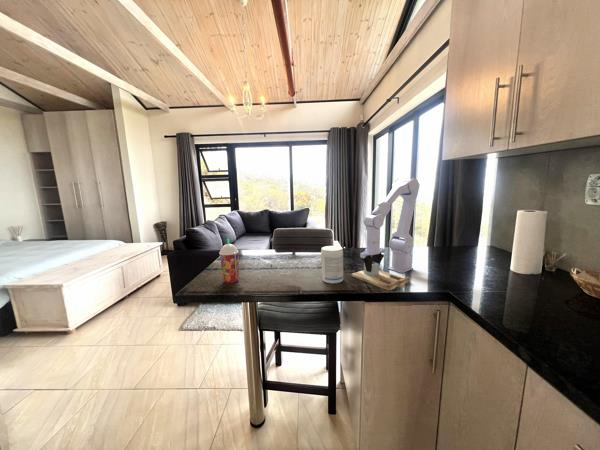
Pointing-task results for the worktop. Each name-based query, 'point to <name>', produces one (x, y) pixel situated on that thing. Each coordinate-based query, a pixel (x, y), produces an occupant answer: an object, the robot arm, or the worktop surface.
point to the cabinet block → (374, 269)
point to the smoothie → (229, 262)
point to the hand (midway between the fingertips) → (372, 270)
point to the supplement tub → (332, 264)
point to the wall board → (382, 279)
